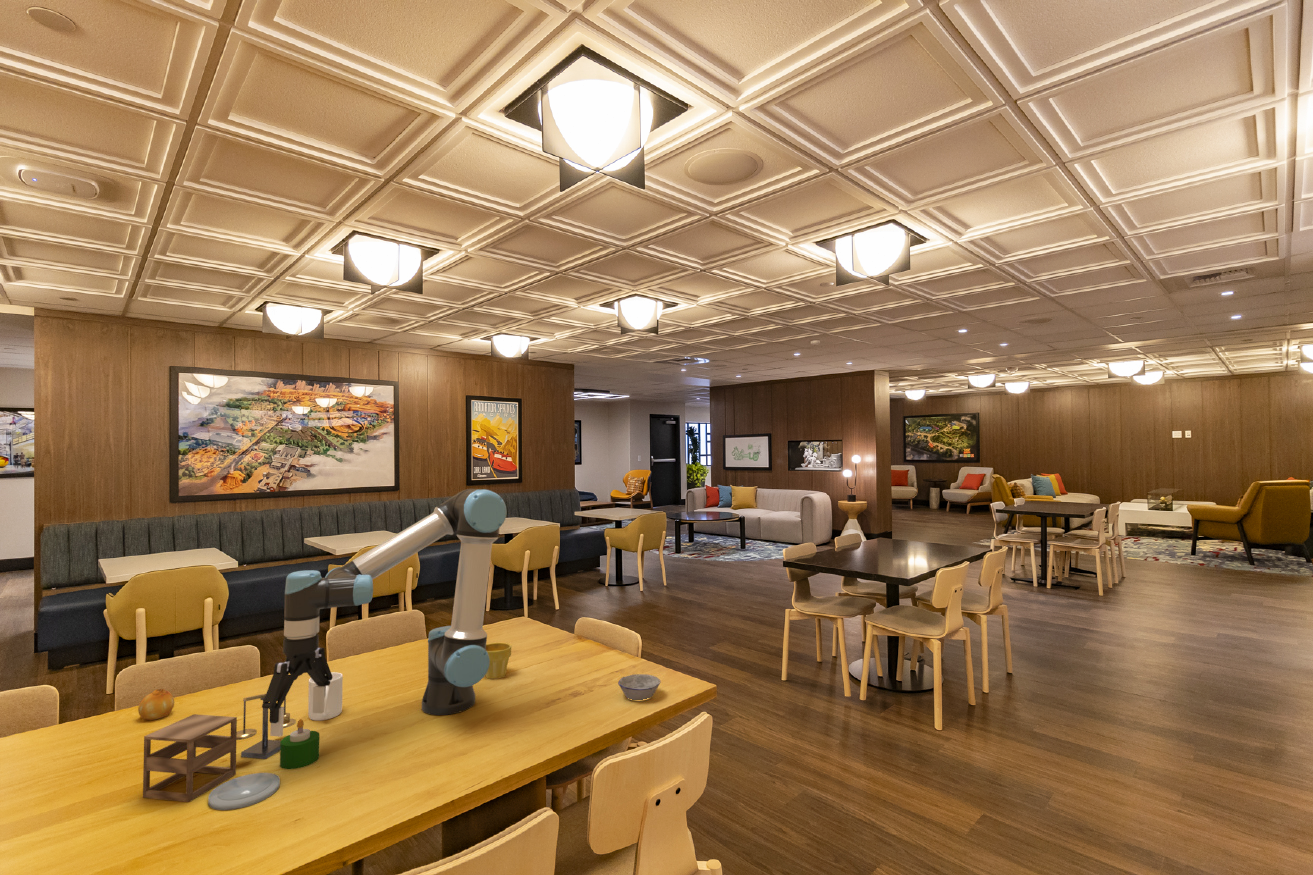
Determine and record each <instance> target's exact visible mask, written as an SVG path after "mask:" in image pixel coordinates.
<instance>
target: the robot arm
mask: <svg viewBox="0 0 1313 875" xmlns="http://www.w3.org/2000/svg"><path fill="white" fill-rule="evenodd" d="M507 514H508V512H507V505H506V503H505V501H504V499H503V497H501V495H499V494H498V493H497V492H494V491H492V490H490V489H485V488H484V489H481V488H479V489H477V488H467V489H463V490H462V491H459V492H458V493H456V494H455V495H453V496H452V497H450V498H448V499H447V500H445V501H444V502H442V503H440V504H439V505H437V506H436V507H435V508H434V510H433V512H432V513H430V514H429V515H427V516H425V517H424V518H422V519H420V520H419V521H417V522H415V523H413V524H412V525H410V526H408V527H407V528H405V529H403V530H401V531H400V532H398V533H397V534H395V535H394V536H391V537H390V538H388V539H387V540H385V541H383V542H381V543H380V544H378V545H377V546H374V547H373V548H371V549H369V550H367V551H366V552H365V553H363V554H360V556H358V557H356V558H354V559H353V560H351V561H349V562H347V563H345V564H344V565H343V566H338V567H335V568H332V569H330V570H329V571H328V572H327V573H326V575H325V577H322V575H321V572H320V571H319V570H312V569H311V570H298V571H293V572H290V573H288V575H287V576H286V577H285V578H286V579H285V588H284V615H283V616H284V617H283V619H284V620H283V621H284V623H283V624H284V625H283V627H284V628H283V636H284V638H283V642H282V643H283V644H282V645H283V646H282V653H283V654H284V656H286V657H285V661H284V662H276V663H275V664H274V667H273V674H272V677H271V680H270V683H269V686H268V688H267V690H266V693H265V694H266V696H265V699H264V701H263V700H262V704H261V708H262V709H263V708H267V709H268V710H269V718H268V722H269V724H270V732H269V733H270V735H269V736H270V737H280V738H281V737H283V735H284V728H283V719H284V706H282V705H283V704H284V699H285V697H286V698H287V695H288V694H289V691H290V690H291V687H292V685H293V683H294V682H295V681H297V679H298V677H300V676H303V675H304V674H307V675H308V676H309V677H310V678H312V680H313V681H314V682H315V683H316V685H318V686H314V687H313V713H321V714H322V713H324V701H325V695H326V686H329V685H330V681H329V680H332V674H331V672H332V671H331V669H330V666H329V664H328V661H327V658H326V654H325V653H326V651H325V648H324V647H319V642H320V641H319V640H320V639H319V638H320V636H319V634H318V633H319V632H320V610H323V609H332V608H340V607H341V608H343V607H353V606H361V605H367V604H370V603H371V602H372V599H373V595H374V581H373V580H375V579H376V578H377V577H379V576H381V575H382V574H384V573H386V572H387V571H389V570H391V569H392V568H394V567H395V566H397V565H399V564H400V563H402V562H404V561H405V560H407V559H409V558H411V557H412V556H414V555H415V554H416V553H419V552H420V551H421V550H423V549H425V548H427V547H428V546H430V545H432V544H433V543H435V542H437V541H438V540H440V539H442V538H443V537H444V536H446V535H450V536H453V535H454V534H456V536H457V538H458V539H459V540H460V551H459V558H458V566H457V573H456V574H457V575H456V583H455V589H454V590H455V592H454V600H453V607H452V616H451V625H446V626H440V627H435V628H433V629H431V630H430V631H429V632H428V640H427V646H428V647H427V648H428V650H427V654H428V655H427V658H428V659H427V660H428V661H427V666H428V667H427V670H428V672H427V674H428V676H427V678H428V679H427V684H426V687H425V690H424V693H423V695H422V696H423V697H422V700H421V710H422V712H423V713H425V714H428V715H431V716H432V715H433V716H445V715H453V714H454V715H455V714H457V713H461V712H464V711H467V710H468V709H471V708H472V707H473V706H474V705H475V703H476V693H475V689H474V687H473V686H474V685H476V684H478V683H479V682H480V681H482V679H483V678H484V677H485V675H486V673H487V671H488V668H489V664H490V659H489V655H488V653H487V651H486V644H487V639H488V633H487V631H485V629H484V628H483V626H484V618H485V616H484V615H485V608H486V603H487V602H486V601H487V592H488V583H489V574H490V566H491V559H492V557H491V556H492V549H493V548H492V547H493V543H494V542H496V541H497V540H498V539H499V534H500V528H501V527H502V526H503V524H504V523H505V521H506V518H507ZM325 674H326V675H325Z"/></svg>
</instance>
